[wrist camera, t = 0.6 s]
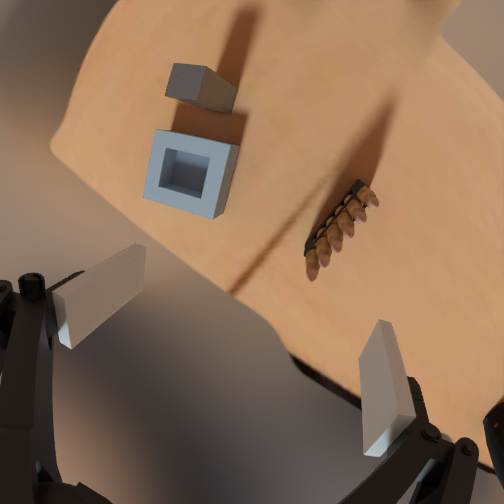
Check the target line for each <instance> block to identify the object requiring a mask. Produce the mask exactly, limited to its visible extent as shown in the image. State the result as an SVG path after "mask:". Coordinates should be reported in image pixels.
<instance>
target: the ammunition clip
mask: <svg viewBox="0 0 504 504" xmlns="http://www.w3.org/2000/svg"><path fill="white" fill-rule="evenodd" d="M361 203H362V204H363V205H362V204H361ZM367 206H368V207H369V208H371V209H376V208H377V207H378V206H379V201H378V199H377V198H376V195H375V194H374V192H373V191H371V190H370V189H369V188H368V187H367V186H366V185H365V184H363V183H362V182H361V181H360V180H357V181H356V182H355V184H354V185H353V186H352V187H351V189H350V190H349V191H348V192H347V194H346V195H345V196H344V197H343V199H342V200H341V201H340V202H339V204H338V205H337V206H336V207H335V208H334V210H333V211H332V212H331V213H330V215H329V216H328V217H327V218H326V219H325V221H324V222H323V223H322V224H321V225H320V227H319V228H318V229H317V230H316V232H315V233H314V234H313V235H312V236H311V238H310V239H309V240H308V241H307V242H306V244H305V250H304V256H305V257H306V262H305V265H306V275H307V278H308V280H309V281H310V282H313V281H314V280H315V279H316V278H317V275H318V271H319V268H320V266H321V267H323V268H326V267H327V266H328V264H329V262H330V256H331V253H332V251H333V252H334V253H339V252H340V251H341V249H342V241H343V235H344V236H345V237H346V238H348V239H351V238H352V237H353V236H354V221H355V220H356V222H358V223H360V224H364V223H365V222H366V220H367V216H366V213H365V208H366V207H367ZM352 218H353V219H352ZM306 254H307V255H306Z"/></svg>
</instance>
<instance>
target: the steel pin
mask: <svg viewBox="0 0 504 504" xmlns="http://www.w3.org/2000/svg"><path fill="white" fill-rule="evenodd" d="M237 90H238V88H236V87H235V86H234V85H232V84H231V83H229V82H228V81H227V80H225V79H224V78H223V77H221V76H220V75H218V74H217V73H215V72H214V71H213V70H211V69H210V68H208V67H207V66H200V65H191V64H180V63H174V64H173V68H172V71H171V75H170V78H169V82H168V85H167V89H166V93H165V96H167V97H170V98H173V99H177V100H180V101H183V102H186V103H189V104H192V105H195V106H198V107H201V108H204V109H208V110H213V111H218V112H223V113H228V114H231V112H232V108H233V104H234V101H235V97H236V93H237Z"/></svg>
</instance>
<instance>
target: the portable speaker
mask: <svg viewBox="0 0 504 504" xmlns="http://www.w3.org/2000/svg"><path fill="white" fill-rule="evenodd" d="M483 424H484V430H485V436H486V443H487V447H488V450H489V453H490V456H491V460H492V463H493V467H494V469H495V472H496V475H497V477H498V479H499V481H500V483H501V485H502V487H503V489H504V403H501V404H499V406H498V408H497V409H496V410H495V411H494V412H493V413H492V414H491V415H490V416H486V417H485V419H484V420H483Z"/></svg>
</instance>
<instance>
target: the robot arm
mask: <svg viewBox="0 0 504 504" xmlns="http://www.w3.org/2000/svg"><path fill="white" fill-rule="evenodd" d="M145 257H146V247H145V246H142V245H139V244H136V243H135V244H133V245H131V246H129V247H128V248H126V249H124V250H122V251H120V252H119V253H117V254H115V255H113V256H111V257H110V258H108V259H106V260H104V261H102V262H101V263H99V264H97V265H96V266H94V267H92V268H90V269H89V270H87V271H80V272H76V273H74V274H72V275H70V276H68V278H65V279H63V280H62V281H60V282H58V283H57V284H55V285H53V286H51V287H50V288H48V289H45V280H44V277H43V276H42V275H41V274H39V273H27V274H24V275H22V276H21V277H20V278H19V279H18V283H19V289H20V293H16V292H13V288H12V284H11V282H9V281H7V280H0V375H1V373H2V378H1V384H0V504H112V503H111V502H110V501H109V500H108V499H107V498H105V497H103V496H102V495H100V494H98V493H97V492H95V491H93V490H92V489H90V488H88V487H87V486H85V485H83V484H82V483H81V482H79V483H78V484H77V486H74V485H70V484H66V483H63V482H62V479H61V476H60V473H59V470H58V466H57V461H56V452H55V442H54V428H53V403H52V377H53V352H54V338H53V336H54V335H55V334H56V333H59V339H60V342H61V343H62V344H64V345H66V346H67V347H69V348H70V349H72V348H73V347H75V346H76V345H77V344H78V343H79V342H80V341H81V340H83V339H84V338H85V337H86V336H87V335H89V334H90V333H91V332H92V331H93V330H94V329H96V328H97V327H98V326H99V325H100V324H102V323H103V322H104V321H105V320H106V319H108V318H109V317H110V316H111V315H112V314H113V313H115V312H116V311H117V310H118V309H119V308H121V307H122V306H123V305H124V304H126V303H127V302H128V301H129V300H130V299H132V298H133V297H134V296H135V295H136V294H138V293H139V292H140V291H141V290H143V283H144V269H145ZM2 370H3V372H2ZM359 370H360V383H361V397H362V416H363V444H364V445H363V446H364V455H369V456H377V457H380V456H381V455H382V454H383V453H384V452H385V451H386V450H387V451H388V457H387V458H386V459H385V460H384V461H383V462H382V463H381V464H380V465H379V466H378V467H377V468H376V469H375V470H374V471H373V472H372V473H371V474H370V475H369V476H368V477H367V478H366V479H365V480H364V481H363V482H362V483H361V484H360V485H358V486H357V487H356V488H355V489H354V490H353V491H352V492H351V493H349V494H348V495H347V496H346V497H345V498H344V499H342V500H341V501H340V502H339V503H338V504H396V503H397V502H398V500H399V499H400V498H401V497H402V496H403V494H404V493H405V492H406V491H407V490H408V488H409V487H410V486H411V484H412V483H413V482H414V481H415V480H416V481H418V483H417V486H416V488H415V490H414V493H413V495H412V498H411V500H410V502H409V504H469V503H470V499H471V495H472V490H473V485H474V480H475V475H476V470H477V464H478V457H479V449H478V447H477V445H476V443H475V442H474V441H473V440H471V439H470V438H466V437H464V438H460V439H459V440H458V441H457V442H456V443H455V444H454V443H451V442H449V441H446V440H444V439H442V436H441V433H440V431H439V429H438V428H437V427H436V426H434V425H433V424H431V423H429V419H428V415H427V411H426V407H425V403H424V402H423V401H424V399H423V396H422V392H421V388H420V385H419V384H418V382H417V381H416V380H415V378H413V377H408V376H406V372H405V368H404V364H403V361H402V357H401V353H400V350H399V346H398V343H397V340H396V336H395V333H394V330H393V326H392V323H391V322H387V321H383V320H380V319H379V320H378V322H377V324H376V326H375V328H374V330H373V332H372V334H371V336H370V338H369V340H368V342H367V344H366V346H365V348H364V349H363V351H362V353H361V355H360V357H359Z"/></svg>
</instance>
